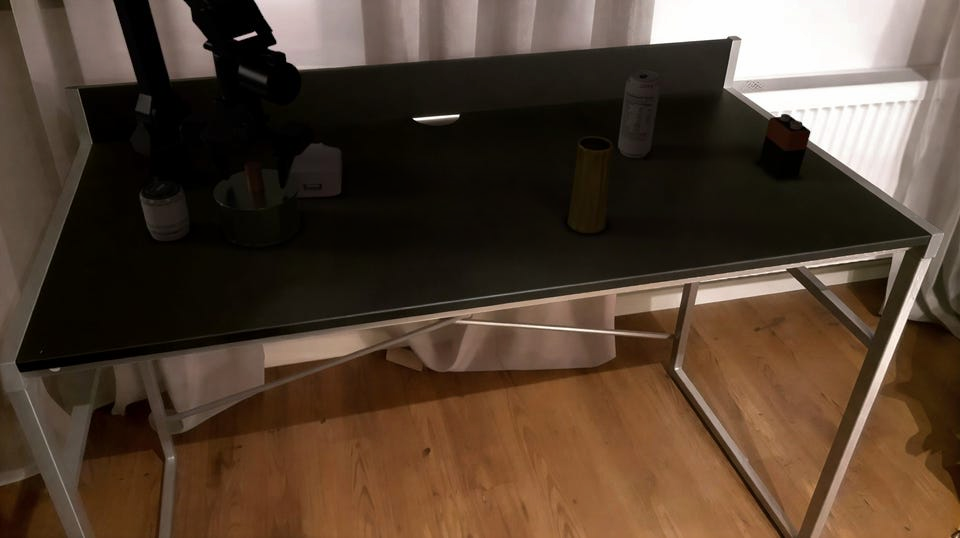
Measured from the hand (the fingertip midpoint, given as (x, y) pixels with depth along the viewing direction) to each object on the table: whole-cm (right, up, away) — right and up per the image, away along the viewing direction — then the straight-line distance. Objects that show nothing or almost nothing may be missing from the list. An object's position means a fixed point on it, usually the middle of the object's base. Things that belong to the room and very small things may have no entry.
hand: (255, 183), depth 120 cm
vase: (+51, -6, +7) cm, 52 cm away
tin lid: (0, -1, +1) cm, 1 cm away
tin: (0, -6, +4) cm, 8 cm away
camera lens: (-14, -7, +3) cm, 16 cm away
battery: (+88, +5, +24) cm, 91 cm away
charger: (+5, +3, +19) cm, 20 cm away
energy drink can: (+63, +9, +29) cm, 70 cm away
